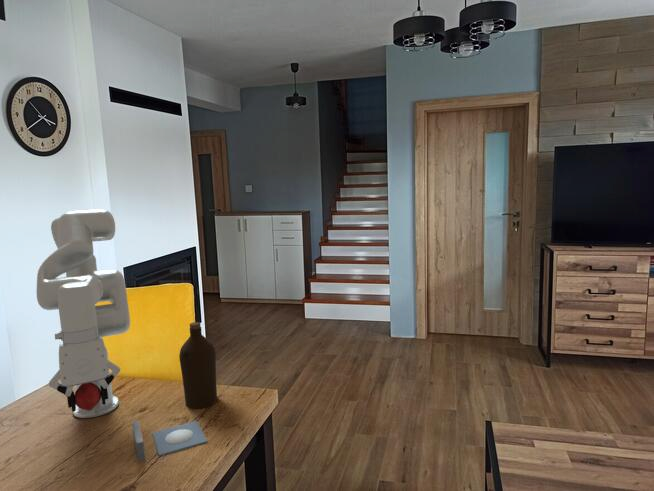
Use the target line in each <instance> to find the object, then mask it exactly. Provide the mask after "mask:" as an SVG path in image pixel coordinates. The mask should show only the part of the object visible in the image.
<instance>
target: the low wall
mask: <svg viewBox="0 0 654 491" xmlns="http://www.w3.org/2000/svg"><path fill="white" fill-rule="evenodd" d="M131 427H132V435H133V442H134V448H135V451H136V456H137V462H138V463H141V462H145V461H146V454H145V446H144V438H143V435H142V431H141V428H140V423H139V420H133V421H131Z"/></svg>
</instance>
